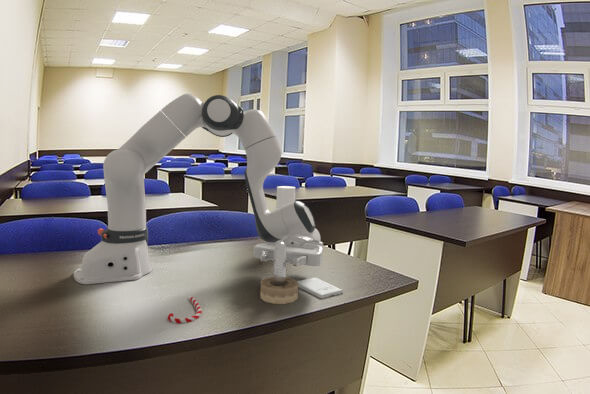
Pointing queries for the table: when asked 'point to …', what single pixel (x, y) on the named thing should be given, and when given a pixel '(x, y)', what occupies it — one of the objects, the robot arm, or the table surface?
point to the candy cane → (190, 319)
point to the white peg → (279, 264)
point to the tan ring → (279, 291)
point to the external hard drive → (318, 287)
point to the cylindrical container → (284, 198)
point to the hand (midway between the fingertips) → (278, 260)
